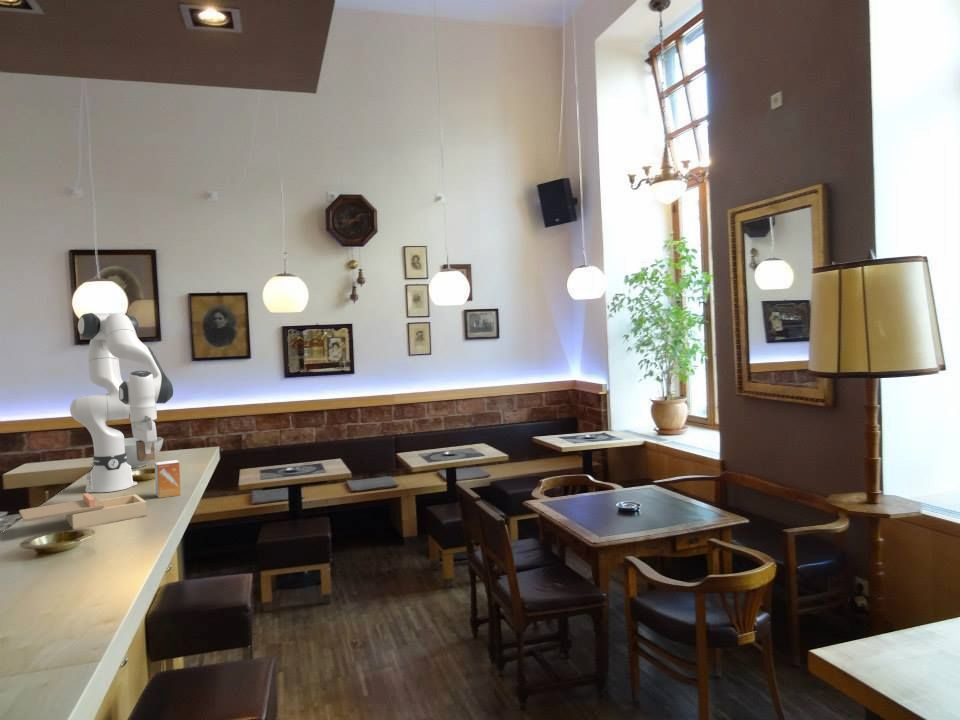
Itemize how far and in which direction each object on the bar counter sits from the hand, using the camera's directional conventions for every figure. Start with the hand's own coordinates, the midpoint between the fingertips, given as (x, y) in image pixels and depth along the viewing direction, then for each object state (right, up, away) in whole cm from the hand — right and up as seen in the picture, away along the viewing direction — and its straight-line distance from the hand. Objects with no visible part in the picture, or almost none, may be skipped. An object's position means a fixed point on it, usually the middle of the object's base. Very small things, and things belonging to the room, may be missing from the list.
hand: (145, 452), depth 249 cm
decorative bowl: (-42, -17, +74) cm, 86 cm away
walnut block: (0, -3, 0) cm, 3 cm away
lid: (-15, -16, -26) cm, 34 cm away
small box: (+2, -19, +13) cm, 23 cm away
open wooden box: (-5, -20, -17) cm, 27 cm away
